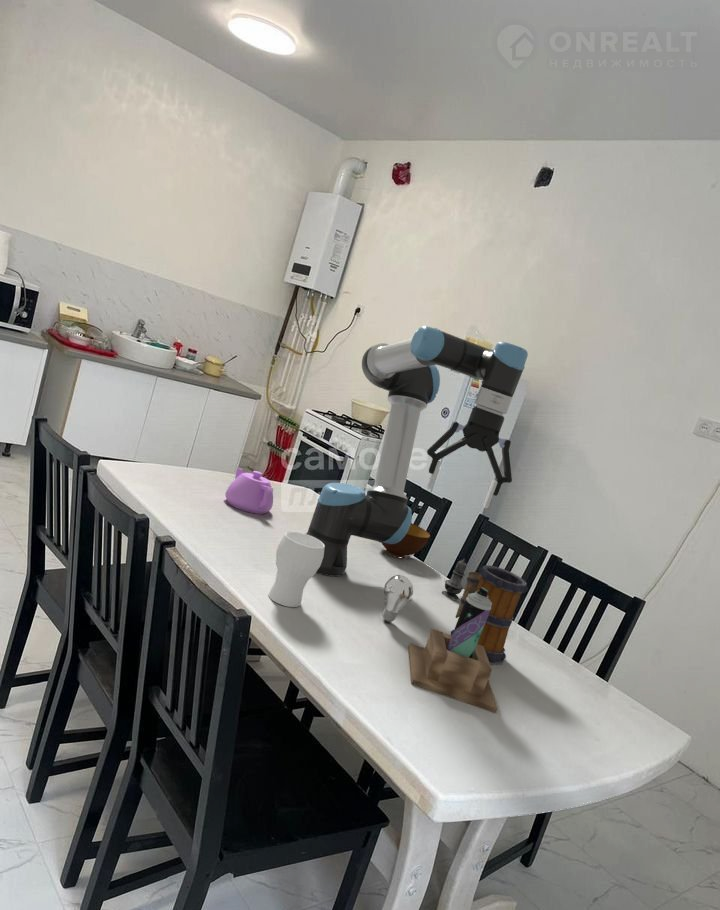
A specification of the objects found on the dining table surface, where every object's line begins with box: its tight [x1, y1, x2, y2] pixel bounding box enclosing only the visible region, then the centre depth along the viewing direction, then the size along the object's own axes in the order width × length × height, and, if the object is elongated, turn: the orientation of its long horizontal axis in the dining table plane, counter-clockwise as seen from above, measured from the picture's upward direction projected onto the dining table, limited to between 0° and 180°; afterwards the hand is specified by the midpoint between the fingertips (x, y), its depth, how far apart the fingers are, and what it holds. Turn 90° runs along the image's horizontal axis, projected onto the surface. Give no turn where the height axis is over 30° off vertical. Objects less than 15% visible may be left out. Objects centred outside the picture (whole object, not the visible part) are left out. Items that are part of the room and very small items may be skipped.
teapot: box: [225, 467, 274, 515], centre depth 224 cm, size 22×16×12 cm
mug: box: [450, 564, 529, 666], centre depth 170 cm, size 19×14×20 cm
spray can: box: [447, 587, 492, 659], centre depth 146 cm, size 6×6×20 cm
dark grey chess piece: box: [441, 558, 468, 601], centre depth 204 cm, size 6×6×12 cm
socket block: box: [407, 628, 499, 714], centre depth 147 cm, size 18×18×7 cm
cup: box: [268, 530, 325, 608], centre depth 158 cm, size 11×11×15 cm
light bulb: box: [381, 574, 414, 624], centre depth 166 cm, size 7×7×12 cm
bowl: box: [381, 522, 431, 558], centre depth 228 cm, size 18×18×10 cm
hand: (457, 497), depth 160 cm, fingers open, 13 cm apart
